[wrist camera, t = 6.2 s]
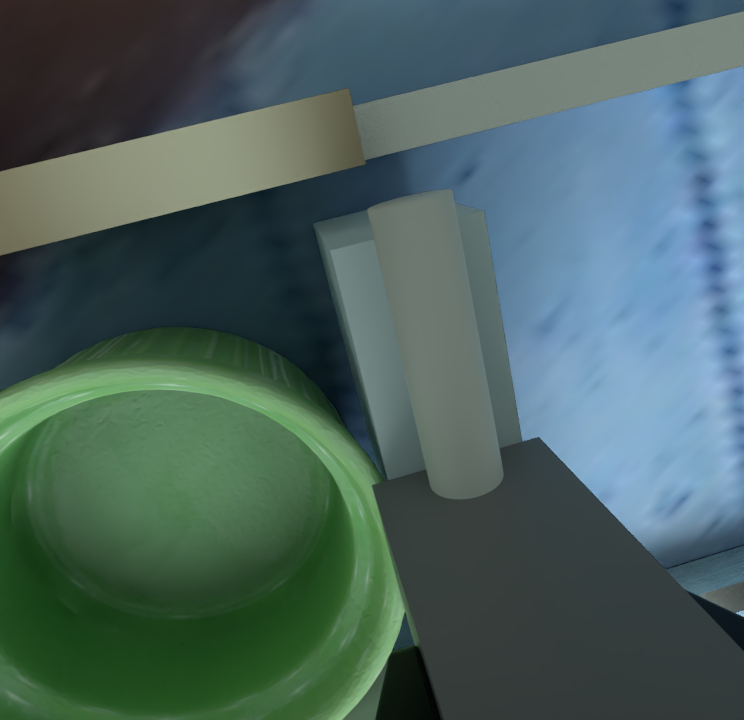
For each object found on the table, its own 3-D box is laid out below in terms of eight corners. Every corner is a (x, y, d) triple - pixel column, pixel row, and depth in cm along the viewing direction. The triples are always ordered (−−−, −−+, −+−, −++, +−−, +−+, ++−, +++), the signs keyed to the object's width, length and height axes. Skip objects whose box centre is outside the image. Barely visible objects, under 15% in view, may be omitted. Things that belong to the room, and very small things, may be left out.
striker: (432, 167, 13) (1047, 212, 3) (516, 615, 17) (895, 1319, 7) (292, 202, 13) (387, 395, 2) (411, 647, 17) (636, 1426, 7)
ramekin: (427, 544, 17) (478, 673, 12) (117, 689, 16) (66, 867, 12) (275, 231, 14) (278, 265, 9) (-105, 408, 13) (-272, 519, 9)
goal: (1140, -92, 14) (1572, -216, 9) (1047, 483, 19) (1297, 588, 15) (-286, 251, 12) (-644, 312, 7) (39, 799, 17) (-48, 1041, 12)
